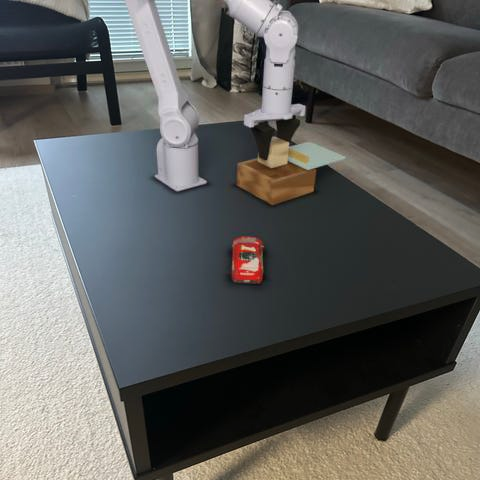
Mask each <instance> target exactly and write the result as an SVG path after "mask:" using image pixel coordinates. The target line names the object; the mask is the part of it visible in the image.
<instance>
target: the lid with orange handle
mask: <svg viewBox="0 0 480 480" xmlns="http://www.w3.org/2000/svg"><path fill="white" fill-rule="evenodd" d="M346 159H347V158H346V156H344V155H342V154H340V153H337V152H335V151H332V150H330V149H328V148H325V147H323V146H320V145H318V144H316V143H313V142H311V141H306V142H302V143H299V144H295V145H289V151H288V161H289V162H291V163H294V164H296V165H298V166H300V167H302V168H304V169H306V170H310V169H316V168H320V167H323V166H324V167H325V166H327V165H331V164H334V163H337V162H341V161H344V160H346Z"/></svg>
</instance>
